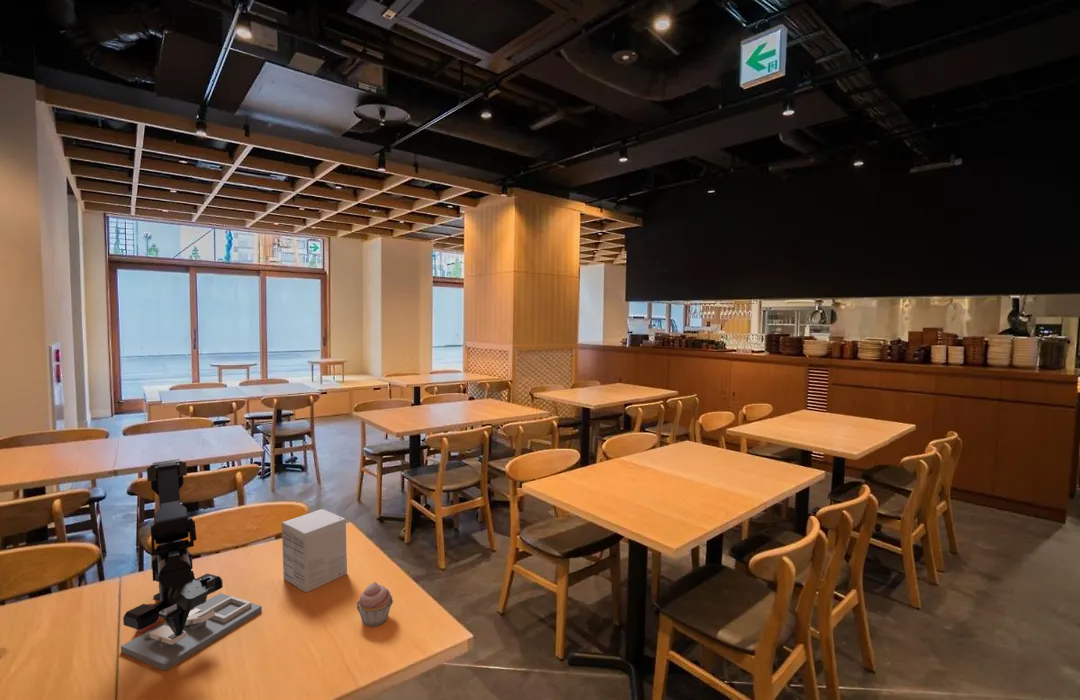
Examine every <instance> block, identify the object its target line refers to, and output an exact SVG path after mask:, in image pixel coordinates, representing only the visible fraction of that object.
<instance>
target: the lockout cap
mask: <svg viewBox="0 0 1080 700" xmlns="http://www.w3.org/2000/svg"><path fill="white" fill-rule="evenodd" d="M155 604H156V603H147V605H150V606H153V605H155ZM159 618H160V617H159ZM159 618H158V619H157V621H156V622H155V623H153V624H151V625H149V626H147V627H145V628H143V629H140V630H137V629H136V633H137V634H140V635H142V634H144V633H146V632H148V631H150V630H152V629H154V628H155V627H157V626H159V625H160V622H159V621H160V619H159Z"/></svg>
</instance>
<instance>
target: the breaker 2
mask: <svg viewBox="0 0 1080 700" xmlns="http://www.w3.org/2000/svg"><path fill="white" fill-rule="evenodd" d="M214 615H215V613H214V610H213V611H207V612H202V613H196V614H193V615H191V616H189V617H187V620H186V623H185V625H190V624H196V623H202V622H204V621H206V620H207V619H209V618H211V617H213V616H214Z"/></svg>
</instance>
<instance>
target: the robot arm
mask: <svg viewBox="0 0 1080 700" xmlns="http://www.w3.org/2000/svg"><path fill="white" fill-rule="evenodd" d="M187 469H188V468H187V461H185V462H184V461H182V460H181V459H180V458H178V459H170V460H165V461H164V460H163V461H162V460H161V461H157V462H155V461H154V462H152V464H151V465H150V466H148V467H146V478H147V481H146V482H150V484H151V485H150V486H151V487H150V488H151V491H153V493H155V494H156V495H157V496H158V500H159V502H158V503H159V504H158V505H159V508H158V510H156V511H155V513H154V515H153V519H154V522H153V524H150V542H151V556H152V557H153V556H154V558H151V568H152V581H153V582H158V588H159V589H158V591H159V593H158V592H157V593H156V594H154V595H153V598H154V599H157V600H159V602H157V603H154V604H155V605H153V606H150V605H147V604H148V603H147V604H146V603H142V604H140V605H138V606H136V607H134V608H131V609H130V610H128V611H126V612H125V613H124V615H123V617H122V620H123V622H122V623H123V626H125V627H129V628H131V629H135V630H136V631H137V630H140V629H143V628H145V627H147V626H149V625H151V624H153V623H155V622H156V621H157V619H158V618H162V619H163V620H164V622H166V623H167V624H168V625H169V627H170V628H171V630H172V631H173V632H174V634H175V635H176V636H180V635H181V634H182V632H183V629H184V626H185V623H186V620H187V617H188V615H189V612H190V610H192V609H193V608H194V607H196V606H198V605H200V604H203V603H205V602H206V600H208V599H207V598H208V595H210V594H213V593H215V592H217V591H218V590H221V589H223V587H224V586H223V583H224V582H223V579H222V577H221V576H219V575H216V574H215V575H214V574H210V573H205V574H203V575H201V576H199V577H197V578H195V573H194V571H193V570H192V569H193V554H192V553H191V552H190V550H189V548H192V547H195V542H194V541H197V531H196V521H195V520H193V517H192V516H188V515H189V514H188V508H187V507H186V506H184V505H182V504H181V498H180V497H181V496H180V490H181V488H182V487H183V485H184V483H185V482H184V477H185V476H187V475H188V472H187ZM155 544H156V545H157V546H156V547H155Z"/></svg>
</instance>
